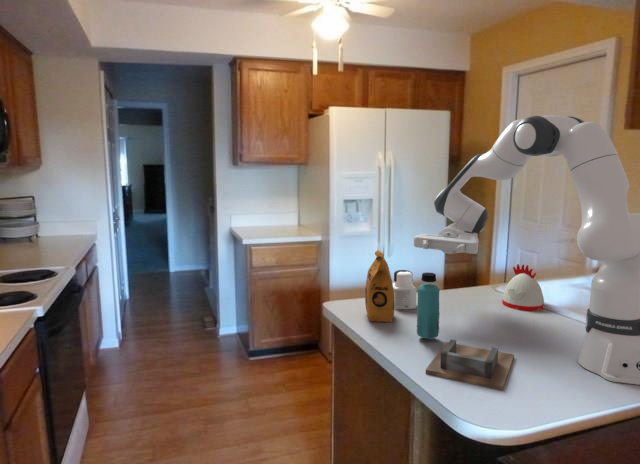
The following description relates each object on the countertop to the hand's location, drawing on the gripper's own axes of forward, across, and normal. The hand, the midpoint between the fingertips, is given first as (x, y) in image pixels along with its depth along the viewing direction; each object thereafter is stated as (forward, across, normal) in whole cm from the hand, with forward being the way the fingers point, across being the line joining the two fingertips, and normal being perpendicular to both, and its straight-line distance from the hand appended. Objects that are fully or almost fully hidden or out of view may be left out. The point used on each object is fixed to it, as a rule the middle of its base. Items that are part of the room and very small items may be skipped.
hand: (440, 248), depth 143 cm
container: (-15, -16, +27) cm, 34 cm away
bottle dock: (+25, +15, +24) cm, 38 cm away
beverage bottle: (+12, +1, +25) cm, 28 cm away
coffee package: (0, -19, +26) cm, 33 cm away
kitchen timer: (-36, +22, +26) cm, 50 cm away
